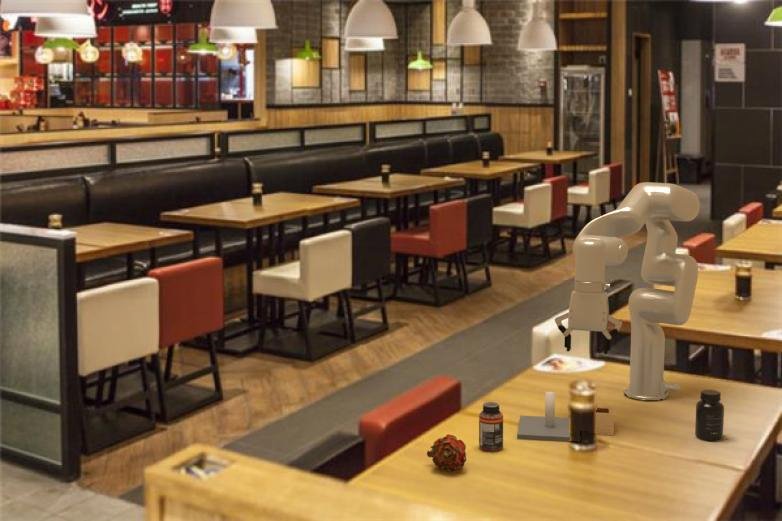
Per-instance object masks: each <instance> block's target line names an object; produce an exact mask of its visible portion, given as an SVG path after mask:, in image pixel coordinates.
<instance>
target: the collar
mask: <svg viewBox="0 0 782 521" xmlns="http://www.w3.org/2000/svg"><path fill="white" fill-rule="evenodd" d="M595 407H596V408H597V410H596V433H597V434H598V435H599V436H600V435H601V436H614V435H615V433H614V432H615V431H614V430H615V411H614V407H613V406H595ZM598 435H597V436H598Z"/></svg>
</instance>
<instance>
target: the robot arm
mask: <svg viewBox="0 0 782 521" xmlns="http://www.w3.org/2000/svg"><path fill="white" fill-rule="evenodd" d="M700 207H701V205H700V199H699V196H698V195H697V194H696V193H695V192H694V191H692V190H690V189H687V188H685V187H683V186H680V185H678V184H674V183H667V182H652V181H651V182H648V181H647V182H646V181H645V182H640V183H637V184H636V185H634V186H633V187H632V189H631V190H629V192H628V194H627V195H626V196H625V198H624V199H623V200H622V201H621V202H620V204H619V205H618V207H617V208H616V209H614V210H612V211H610V212H607V213H605V214H603V215H601V216H599V217H596V218H594V219H592V220H591V221H589V222H588V223H587V224H586V225H585V226H584V227H583V228H582V229H581V231H580V232H579V233H578V235H577V236H576V237H575V239H574V242H573V246H572V254H573V256H574V257H573V258H575V263H574V264H575V266H574V269H575V271H574V290H572V291H571V294H570V298H569V299H570V300H569V307H568V312H566V313H564V314H562V315H560V316H557V317H555V319H554V322H555V324H556V327H557V329H558V331H560V332H561V333H562V334H563V336H564V345H563V346H564V348H566V352H570V351H571V349H572V334H571V333H572V332H573V331H584V332H601V333H602V334H603V335H604V337H605V338H604V345H603V346H604V347H603V348H604V349H603V354H604V355H607V354H608V352H610V351H611V345H612V344H611V342H612V341H611V339H612V338H613V337H614V336H615V335H617V334H618V332H619V331H620V329H621V327H622V326H623V322H622V321H621V320H619V319H617V318H615V317H614V316H612V315H610V312H609V311H610V307H609V306H610V305H609V296H608V292H606V290H610V289H611V284H610V283H607V282H606V280H605V276H606V266H610V267H613V266H614V267H616V266H619V265H622V264H623V263H624V262H625V261H626V260H627V258H628V254H629V247H628V244H627V242H626V241H625V240H623V239H622V238H623V237H626V236H630V235H634V234H637V233H638V232H639V231H641V229H642V228H643V227H644V225H645V226H646V230H647V231H646V232H647V237H646V238H647V239H646V244H645V249H644V254H643V260H642V264H641V268H640V276H641V279H642V280H643V281H644V282H645V283H648V284H651V285H657V286H663V287H673V288H674V290H670V289H669V290H668V289H662V288H653V287H640V288H636V289H635V290H633V291H632V292H631V293H630V295H629V297H628V311H629V317H630V359H629V361H630V362H629V386H627V387H625V388H624V389H623V394H624V393H625V394H626V395H628V396H630V397H634V398H637V399H645V400H658V401H661V400H660V399H663V400H666V399H667V398H669V392H679V393H680V392H681V385H680V384H675V383H670V382H669V383H668V382H666V381H665V379H664V373H665V370H664V369H665V347H666V345H665V344H666V337H665V332H664V330H663V328H662V326H661V324H665V325H671V326H672V325H674V326H682V325H685V324H686V323H687V322H688V321H689V319H690V316H691V312H692V308H693V303H694V298H695V294H696V290H697V289H696V288H697V282H698V277H699V265H698V262H697V260H696V259H695V258H694V257H693V256H691V255H689V254H684V253H676V250H677V246H678V242H679V241H678V240H679V239H678V238H679V237H678V233H677V232H676V230H675V227H674V226H673V225H672V222H671V221H675V222H677V221H678V222H690V221H693V220H694V219H695V218H697V216H698V214H699V211H700ZM566 319H568V320H567V324H568V325H567V328H566V327H565V326H564V325H563V323H562V321H564V320H566ZM610 322H611V323H612V324H613V325H615V326H614V328H613V329H612V330H611V331H610V329H609V328H608V327H609V324H610ZM666 397H667V398H666ZM665 398H666V399H665Z"/></svg>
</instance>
